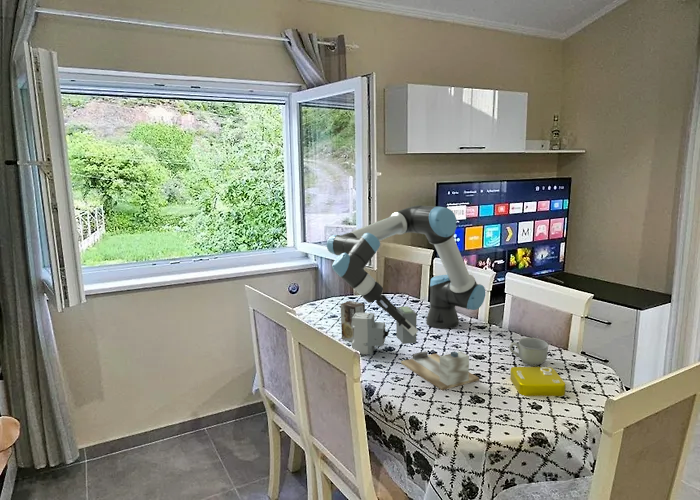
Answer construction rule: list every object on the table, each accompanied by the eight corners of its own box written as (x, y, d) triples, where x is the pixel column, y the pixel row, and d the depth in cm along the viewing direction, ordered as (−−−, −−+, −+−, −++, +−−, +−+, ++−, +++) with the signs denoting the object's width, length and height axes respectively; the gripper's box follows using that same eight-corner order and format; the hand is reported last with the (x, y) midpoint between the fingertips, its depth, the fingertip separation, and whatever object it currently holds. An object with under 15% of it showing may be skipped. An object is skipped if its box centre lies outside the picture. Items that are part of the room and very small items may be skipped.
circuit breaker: (387, 355, 204) (386, 319, 201) (352, 353, 207) (351, 318, 204) (389, 348, 211) (389, 313, 208) (355, 346, 214) (354, 312, 211)
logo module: (409, 335, 191) (409, 305, 189) (416, 342, 183) (416, 311, 181) (396, 336, 190) (396, 306, 188) (403, 343, 182) (403, 312, 180)
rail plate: (435, 355, 202) (435, 328, 200) (479, 380, 179) (479, 350, 177) (401, 363, 196) (401, 335, 194) (441, 390, 173) (442, 359, 171)
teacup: (547, 358, 197) (548, 338, 196) (548, 369, 187) (549, 348, 186) (509, 354, 202) (510, 335, 200) (508, 365, 192) (509, 345, 190)
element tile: (508, 377, 182) (509, 365, 181) (551, 377, 181) (552, 365, 180) (520, 397, 167) (520, 383, 167) (567, 397, 167) (567, 383, 166)
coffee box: (366, 339, 222) (365, 303, 219) (356, 343, 218) (355, 307, 215) (350, 335, 228) (350, 300, 226) (340, 338, 224) (340, 303, 221)
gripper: (357, 288, 192) (399, 327, 196) (365, 304, 171) (412, 346, 176) (371, 274, 191) (412, 313, 196) (381, 288, 171) (427, 331, 175)
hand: (412, 328), depth 186 cm, fingers closed on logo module, 8 cm apart
